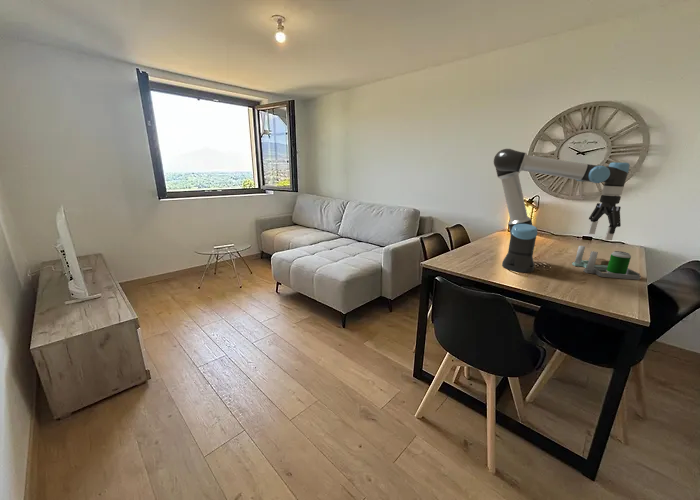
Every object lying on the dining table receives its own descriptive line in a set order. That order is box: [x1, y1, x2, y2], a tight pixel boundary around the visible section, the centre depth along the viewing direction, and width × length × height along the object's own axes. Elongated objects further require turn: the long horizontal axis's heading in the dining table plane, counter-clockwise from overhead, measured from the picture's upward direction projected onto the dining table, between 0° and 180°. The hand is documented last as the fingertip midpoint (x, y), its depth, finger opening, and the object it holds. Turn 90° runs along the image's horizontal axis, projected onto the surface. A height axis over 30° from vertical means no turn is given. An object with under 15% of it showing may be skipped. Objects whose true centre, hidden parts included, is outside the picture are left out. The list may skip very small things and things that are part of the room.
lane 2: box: [583, 250, 642, 281], centre depth 149 cm, size 21×12×11 cm, turn 78°
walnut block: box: [595, 258, 609, 266], centre depth 160 cm, size 4×4×4 cm
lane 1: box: [571, 245, 608, 269], centre depth 160 cm, size 21×9×11 cm, turn 78°
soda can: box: [606, 250, 632, 274], centre depth 148 cm, size 8×8×12 cm
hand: (599, 236), depth 148 cm, fingers open, 13 cm apart
